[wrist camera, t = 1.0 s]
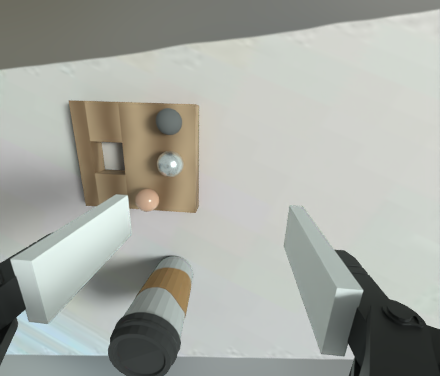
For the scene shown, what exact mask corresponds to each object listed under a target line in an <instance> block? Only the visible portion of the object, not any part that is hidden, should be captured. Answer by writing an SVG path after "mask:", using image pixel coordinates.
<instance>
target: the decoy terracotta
mask: <svg viewBox="0 0 440 376" xmlns="http://www.w3.org/2000/svg"><path fill="white" fill-rule="evenodd" d="M135 203H136V205H137V207H138V208H139V209H140V210H142V211H146V212H148V211H152V210H154V209H155V208H156V207H157V206H158V204H159V196H158V194H157V193H156V192H155V191H154V190H152V189H143V190H141V191H139V192H138V193H137V195H136V198H135Z"/></svg>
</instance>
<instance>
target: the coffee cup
mask: <svg viewBox="0 0 440 376" xmlns="http://www.w3.org/2000/svg"><path fill="white" fill-rule="evenodd" d="M192 278H193V271H192V268H191V266H190V264H189V263H188V262H187V261H186V260H185V259H183V258H181V257H177V256H171V257H167V258H165V259H163V260H162V261H161V262H160V263H159V264H158V266H157V267H156V269H155V270H154V272H153V273H152V274H151V275H150V277H149V278H148V280H147V281H146V283H145V284H144V286H143V287H142V289H141V290H140V291H139V293H138V294H137V296H136V298H135V300H134V301H133V303H132V304H131V306H130V307H129V309H128V310H127V312H126V313H125V315H124V316H123V317H122V318H121V319H120V320H119V321H118V322H117V324H116V326H115V329H114V330H113V333H112V335H111V337H110V345H109V348H108V355H109V358H110V361H111V362H112V364H113V365H114V367H116V368H117V369H118V370H119V371H120V372H121V373H123V374H125V375H126V376H164V375H165V374H166V373H167V372H168V370H169V369H170V367H171V365H173V363H174V362H175V360H176V358H177V353H178V351H179V350H180V345H181V341H180V338H181V333H182V328H183V323H184V318H185V316H186V311H187V306H188V301H189V296H190V290H191V283H192Z"/></svg>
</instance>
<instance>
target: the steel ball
mask: <svg viewBox="0 0 440 376" xmlns="http://www.w3.org/2000/svg"><path fill="white" fill-rule="evenodd" d="M183 165H184V163H183V159H182V157H181V156H180V155H179V154H178V153H176V152H174V151H166V152H164V153H162V154H161V155H160V156H159V158H158V160H157V168H158V170H159V172H160V173H161V174H163V175H164V176H167V177H174V176H177V175H178V174H180V173H181V171H182V169H183Z"/></svg>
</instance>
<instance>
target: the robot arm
mask: <svg viewBox="0 0 440 376" xmlns="http://www.w3.org/2000/svg"><path fill="white" fill-rule="evenodd" d="M131 235H132V232H131V222H130V212H129V202H128V195H117V194H116V195H114V196H113V197H111V198H109V199H108V200H106V201H104V202H103V203H101V204H100V205H98V206H96V207H95V208H93V209H91V210H90V211H88V212H86V213H85V214H83V215H82V216H80V217H78V218H77V219H75V220H73V221H72V222H70V223H68V224H67V225H65V226H64V227H62V228H60V229H59V230H57V231H55V232H53V233H50V234H48V235H46V236H45V237H43V238H41V239H40V240H38V241H37V242H35V243H33V244H31V245H30V246H29V247H26V248H25V249H23V250H21V251H20V252H18V253H16V254H15V255H13V256H11V257H10V258H8V259H6V260H5V261H3V262H1V263H0V365H1V362H2V360H3V358H4V356H5V354H6V352H7V349H8V347H9V345H10V343H11V341H12V339H13V336H14V334H15V332H16V330H17V327H18V321H17V318H16V317H17V316H18V315H19V314H21V313H22V312H23V311H24V310H26V313H27V317H28V320H29V322H35V323H44V324H49V323H50V322H51V321H52V319H53V318H54V317H55V316H56V315H57V314H58V313H59V312H60V311H61V310H62V309H63V308H64V307H65V306H66V304H67V303H68V302H69V301H70V300H71V299H72V298H73V297H74V296H75V295H76V294H77V293H78V292H79V291H80V289H81V288H82V287H83V286H84V285H85V284H86V283H87V282H88V281H89V280H90V279H91V278H92V277H93V276H94V274H95V273H96V272H97V271H98V270H99V269H100V268H101V267H102V266H103V265H104V264H105V263H106V262H107V260H108V259H109V258H110V257H111V256H112V255H113V254H114V253H115V252H116V251H117V250H118V249H119V248H120V247H121V245H122V244H123V243H124V242H125V241H126V240H127V239H128V238H129V237H130V236H131ZM284 248H285V251H286V254H287V257H288V260H289V263H290V265H291V268H292V271H293V274H294V277H295V280H296V283H297V286H298V289H299V292H300V294H301V297H302V300H303V303H304V306H305V309H306V312H307V315H308V318H309V320H310V323H311V326H312V329H313V332H314V335H315V338H316V341H317V344H318V346H319V349H320V352H321V354H327V355H336V356H345V353H346V349H347V346H348V344H349V346H350V348H351V350H352V352H353V354H354V356H355V358H354V361H353V364H352V367H351V371H350V374H349V376H440V329H437V328H434V327H431V326H428V325H426V323H425V322H424V320H423V319H422V318H421V317H420V316H419V315H418V314H417V313H416V312H414V311H413V310H412V309H410V308H409V307H407V306H405V305H403V304H401V303H399V302H397V301H394V300H390V299H389V298H388V297H387V296H386V295H385V294H384V292H383V291H382V290H381V289H380V288H379V286H378V285H377V284H376V283H375V282H374V280H373V279H372V278H371V277H370V275H368V273H367V272H366V271H365V269H364V268H362V266H361V265H360V263H359V262H358V261H357V260H356V259H355V258H354V257H353V256H352V255H350V254H349V253H347V252H346V251H344V250H334V249H333V247H332V246H331V245H330V243H329V242H328V240H327V239H326V238H325V236H324V235H323V234H322V232H321V231H320V229H319V228H318V227H317V225H316V224H315V222H314V221H313V220H312V218H311V217H310V216H309V214H308V213H307V211H306V210H305V209H304V207H303V206H291V205H290V206H289V213H288V220H287V227H286V234H285V241H284Z"/></svg>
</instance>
